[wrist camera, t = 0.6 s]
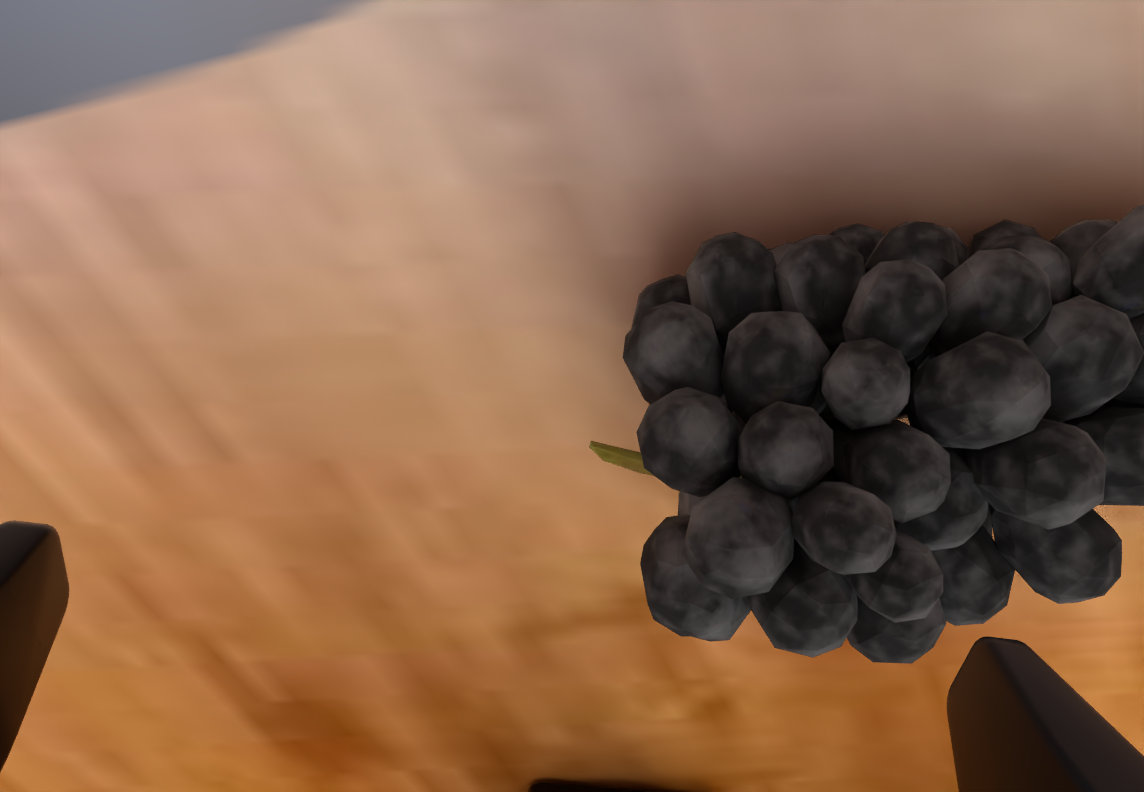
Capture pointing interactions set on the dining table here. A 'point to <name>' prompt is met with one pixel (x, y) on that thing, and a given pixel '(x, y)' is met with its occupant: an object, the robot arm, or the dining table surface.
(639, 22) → the dining table surface
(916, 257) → the fruit
